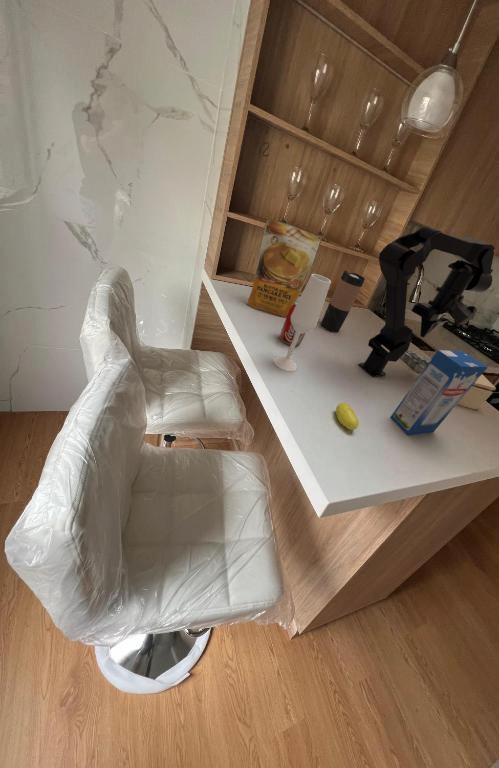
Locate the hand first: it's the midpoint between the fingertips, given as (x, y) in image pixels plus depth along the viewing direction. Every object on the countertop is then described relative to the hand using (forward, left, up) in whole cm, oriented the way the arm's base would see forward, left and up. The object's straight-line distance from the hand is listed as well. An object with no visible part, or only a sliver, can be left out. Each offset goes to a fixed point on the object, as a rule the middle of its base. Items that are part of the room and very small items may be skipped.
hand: (422, 336), depth 100 cm
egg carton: (+13, +2, -14) cm, 19 cm away
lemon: (-42, -14, -13) cm, 46 cm away
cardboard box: (+11, -14, -13) cm, 22 cm away
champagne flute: (-42, +9, -13) cm, 45 cm away
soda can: (-32, +20, -13) cm, 40 cm away
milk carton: (-22, -20, -13) cm, 32 cm away
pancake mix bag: (-26, +41, -13) cm, 51 cm away
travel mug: (-6, +28, -13) cm, 32 cm away
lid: (+11, -14, -5) cm, 19 cm away
